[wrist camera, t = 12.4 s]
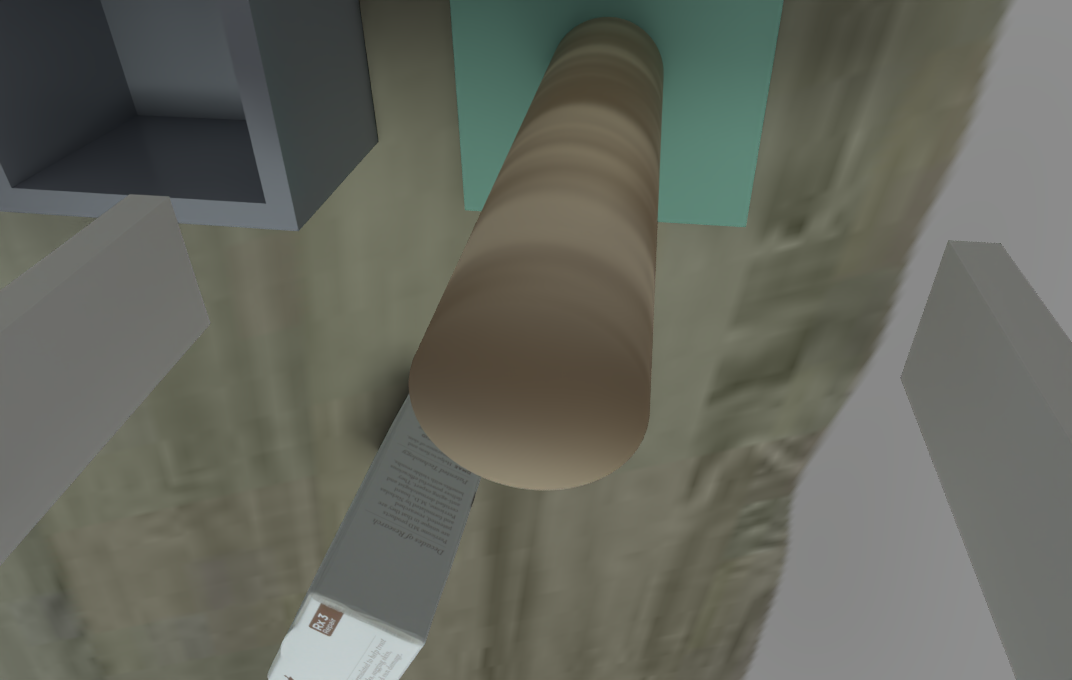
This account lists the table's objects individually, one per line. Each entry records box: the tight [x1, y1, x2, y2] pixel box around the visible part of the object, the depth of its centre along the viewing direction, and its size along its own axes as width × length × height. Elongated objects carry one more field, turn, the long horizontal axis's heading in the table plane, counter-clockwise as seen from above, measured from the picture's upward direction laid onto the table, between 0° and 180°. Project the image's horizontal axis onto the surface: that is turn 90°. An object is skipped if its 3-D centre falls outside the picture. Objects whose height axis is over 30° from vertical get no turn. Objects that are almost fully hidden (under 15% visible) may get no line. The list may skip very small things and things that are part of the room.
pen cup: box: [0, 0, 378, 231], centre depth 22 cm, size 10×10×7 cm
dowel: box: [409, 17, 664, 490], centre depth 18 cm, size 4×4×16 cm
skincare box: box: [268, 394, 481, 680], centre depth 30 cm, size 6×4×12 cm
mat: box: [450, 0, 784, 227], centre depth 24 cm, size 10×10×1 cm
